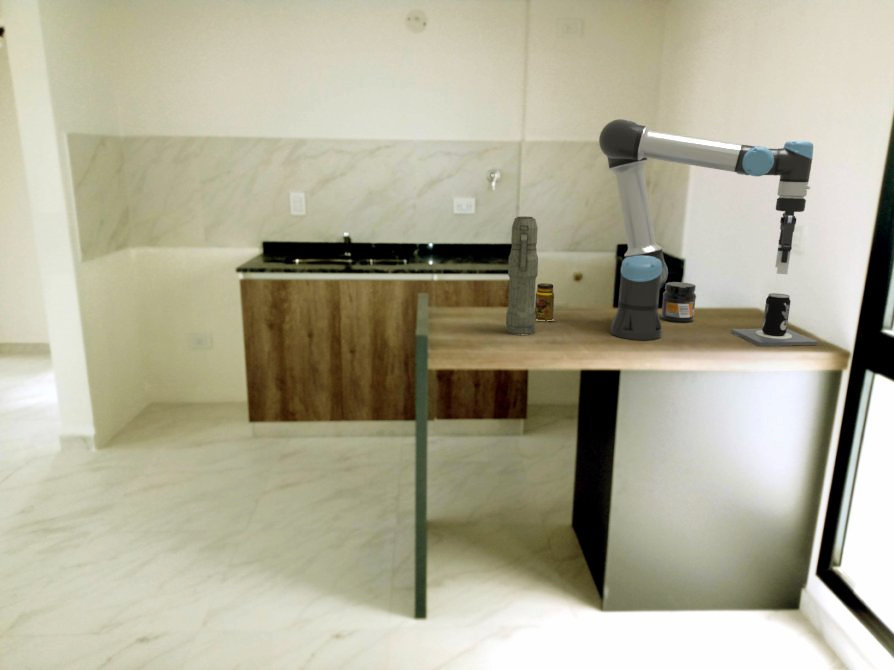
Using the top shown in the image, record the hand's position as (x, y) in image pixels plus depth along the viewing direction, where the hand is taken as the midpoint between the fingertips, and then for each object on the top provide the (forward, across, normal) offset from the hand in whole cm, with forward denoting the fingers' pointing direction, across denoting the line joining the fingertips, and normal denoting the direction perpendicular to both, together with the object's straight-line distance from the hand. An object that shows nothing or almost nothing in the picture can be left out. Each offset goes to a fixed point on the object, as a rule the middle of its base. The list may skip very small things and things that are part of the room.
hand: (781, 270), depth 200 cm
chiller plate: (+21, 0, 0) cm, 21 cm away
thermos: (+21, -26, +71) cm, 79 cm away
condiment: (+22, -6, +69) cm, 73 cm away
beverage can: (+20, 0, 0) cm, 20 cm away
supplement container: (+21, +14, +29) cm, 38 cm away
